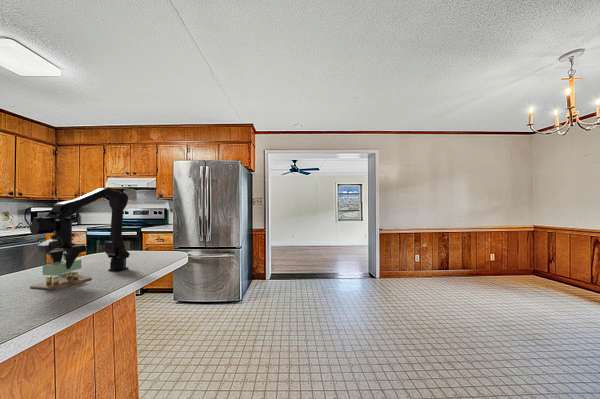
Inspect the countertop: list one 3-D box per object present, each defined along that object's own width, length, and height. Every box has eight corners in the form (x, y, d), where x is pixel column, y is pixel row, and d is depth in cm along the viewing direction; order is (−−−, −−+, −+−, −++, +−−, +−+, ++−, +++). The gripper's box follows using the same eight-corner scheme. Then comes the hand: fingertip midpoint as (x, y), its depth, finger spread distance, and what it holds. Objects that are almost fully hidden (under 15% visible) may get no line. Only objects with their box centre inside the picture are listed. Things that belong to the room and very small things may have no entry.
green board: (70, 267, 125) (70, 258, 125) (81, 268, 124) (81, 259, 124) (42, 274, 113) (42, 265, 113) (54, 275, 112) (54, 265, 112)
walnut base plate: (70, 277, 128) (70, 269, 128) (91, 279, 125) (91, 271, 125) (30, 288, 112) (30, 278, 112) (53, 290, 110) (53, 281, 110)
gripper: (24, 233, 113) (24, 271, 113) (60, 235, 109) (59, 274, 109) (54, 230, 124) (53, 265, 124) (87, 232, 120) (87, 268, 120)
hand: (62, 268), depth 119 cm, fingers closed on green board, 6 cm apart
